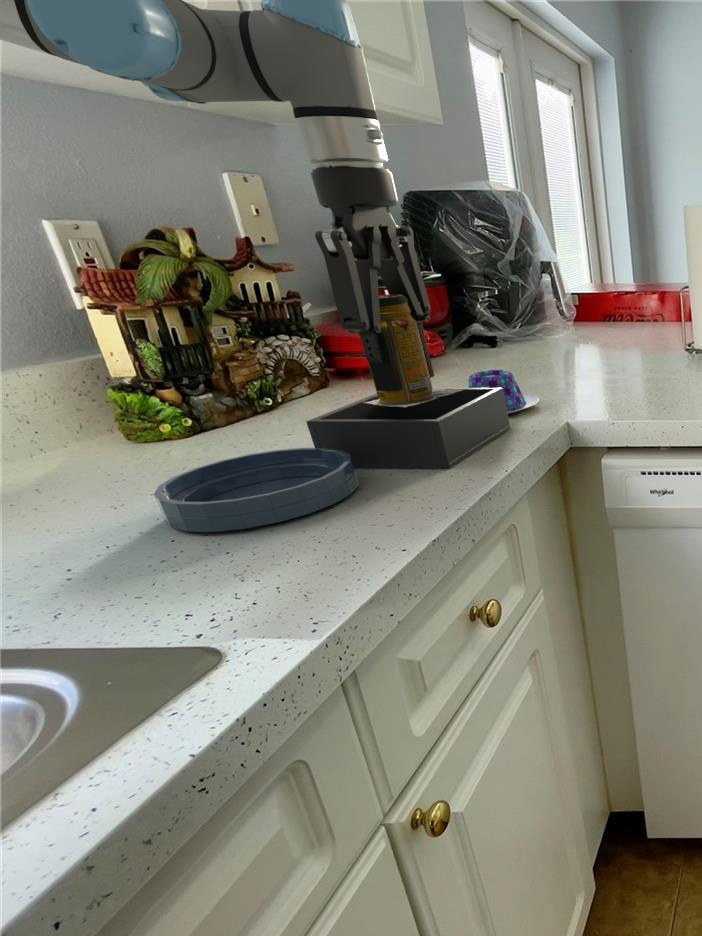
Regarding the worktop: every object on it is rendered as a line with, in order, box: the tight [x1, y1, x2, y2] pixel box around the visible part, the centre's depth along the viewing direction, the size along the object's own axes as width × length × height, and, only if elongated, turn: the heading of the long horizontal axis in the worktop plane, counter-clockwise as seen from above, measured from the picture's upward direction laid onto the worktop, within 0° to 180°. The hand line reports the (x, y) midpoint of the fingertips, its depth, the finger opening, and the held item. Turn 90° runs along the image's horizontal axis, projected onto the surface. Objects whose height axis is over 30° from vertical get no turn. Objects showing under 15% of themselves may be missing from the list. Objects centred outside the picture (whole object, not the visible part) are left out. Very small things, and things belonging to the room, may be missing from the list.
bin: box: [305, 387, 512, 470], centre depth 87 cm, size 16×16×6 cm
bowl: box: [153, 447, 359, 533], centre depth 72 cm, size 16×16×3 cm
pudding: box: [467, 369, 540, 415], centre depth 104 cm, size 12×12×5 cm
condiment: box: [363, 294, 462, 407], centre depth 84 cm, size 7×8×12 cm
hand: (406, 382), depth 85 cm, fingers closed on condiment, 6 cm apart
